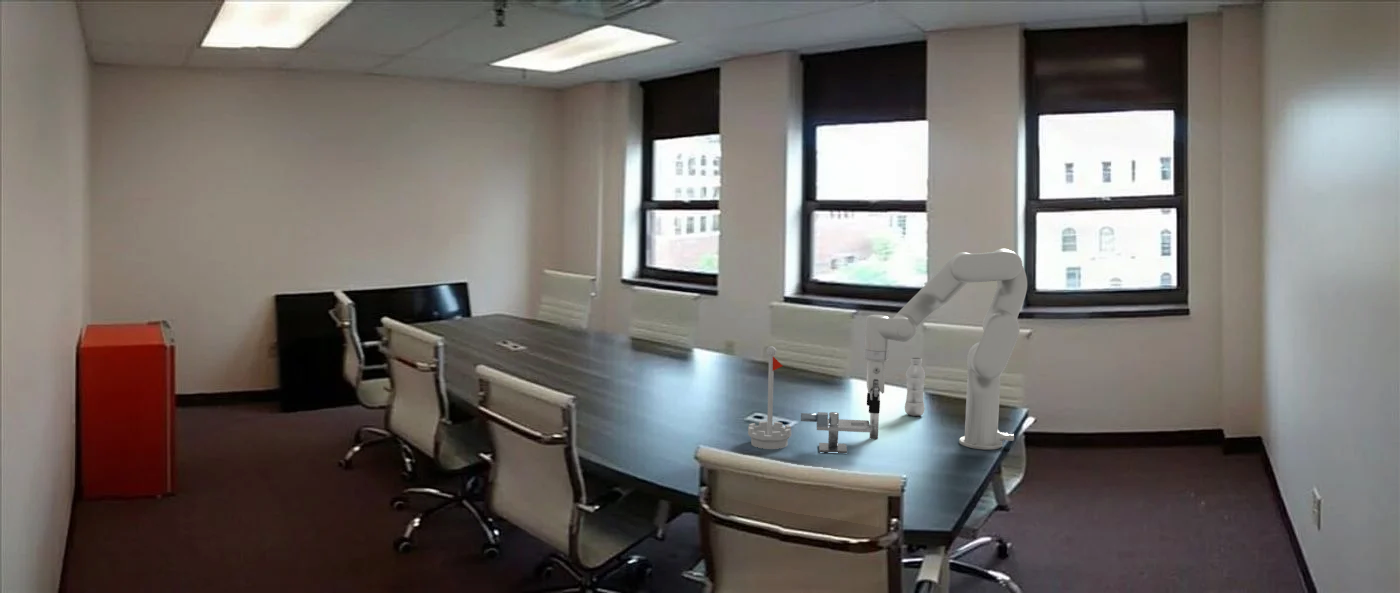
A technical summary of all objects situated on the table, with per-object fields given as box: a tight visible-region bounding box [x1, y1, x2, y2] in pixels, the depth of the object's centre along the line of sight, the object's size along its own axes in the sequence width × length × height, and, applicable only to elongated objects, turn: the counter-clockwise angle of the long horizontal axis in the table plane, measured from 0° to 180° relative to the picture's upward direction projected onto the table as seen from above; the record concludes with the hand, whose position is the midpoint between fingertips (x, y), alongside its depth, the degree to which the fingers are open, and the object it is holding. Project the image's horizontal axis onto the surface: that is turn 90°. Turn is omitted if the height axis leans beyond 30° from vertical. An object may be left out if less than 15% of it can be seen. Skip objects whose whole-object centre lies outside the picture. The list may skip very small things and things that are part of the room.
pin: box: [869, 412, 880, 440], centre depth 277 cm, size 3×3×14 cm
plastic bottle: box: [904, 357, 926, 417], centre depth 307 cm, size 6×7×20 cm
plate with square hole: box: [800, 411, 871, 454], centre depth 264 cm, size 20×10×11 cm, turn 83°
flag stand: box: [747, 346, 792, 450], centre depth 268 cm, size 13×13×30 cm
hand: (872, 409), depth 277 cm, fingers open, 9 cm apart
